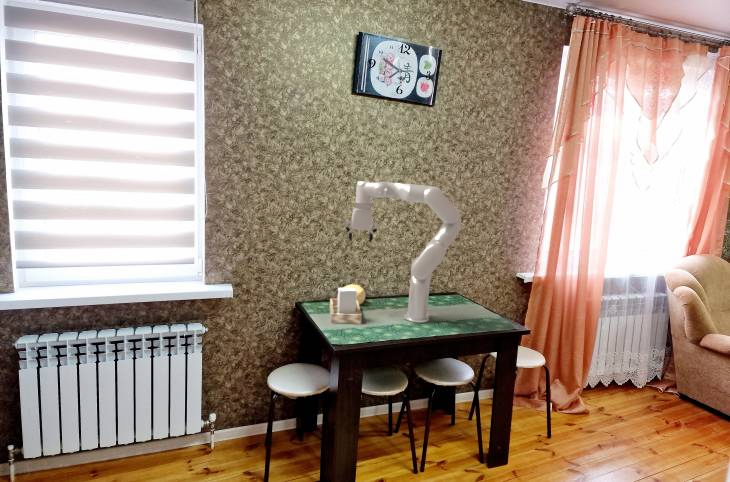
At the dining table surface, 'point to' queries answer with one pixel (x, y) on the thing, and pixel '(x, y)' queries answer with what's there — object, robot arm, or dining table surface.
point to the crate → (344, 317)
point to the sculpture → (358, 293)
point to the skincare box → (346, 300)
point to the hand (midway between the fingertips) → (360, 241)
